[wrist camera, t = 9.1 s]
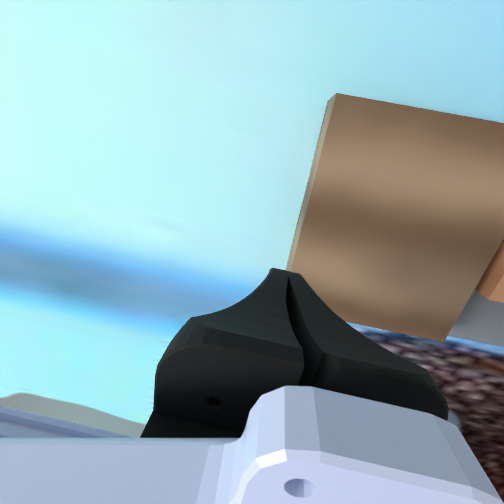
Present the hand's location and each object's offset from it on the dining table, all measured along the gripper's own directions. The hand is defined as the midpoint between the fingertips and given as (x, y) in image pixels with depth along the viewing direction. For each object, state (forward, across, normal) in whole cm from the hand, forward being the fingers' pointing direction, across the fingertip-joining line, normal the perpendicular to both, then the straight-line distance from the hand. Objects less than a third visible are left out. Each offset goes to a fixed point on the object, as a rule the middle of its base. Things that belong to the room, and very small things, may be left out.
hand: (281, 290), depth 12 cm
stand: (+9, -7, -2) cm, 12 cm away
